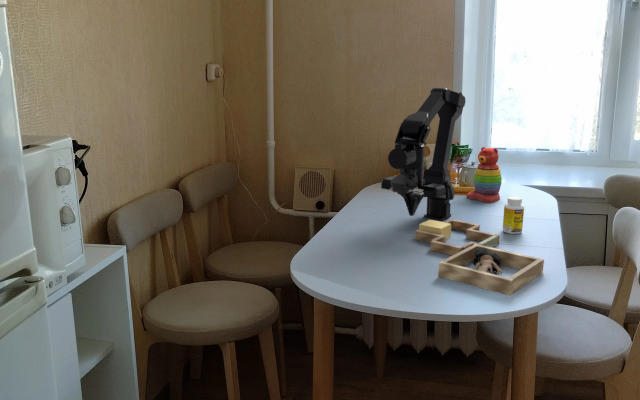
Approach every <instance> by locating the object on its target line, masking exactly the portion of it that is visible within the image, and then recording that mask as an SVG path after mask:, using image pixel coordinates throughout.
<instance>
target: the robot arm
mask: <svg viewBox="0 0 640 400" xmlns="http://www.w3.org/2000/svg"><path fill="white" fill-rule="evenodd" d="M465 105H466V97H465V95H463V93H462V92H461V91H453V90H450V89H449V88H447V87H433V88H431V90H430V93H429V95H428V96H427V97H426V99H425V100H424V102H423V103H422V105H420V107H419V108H418V110H417V111H416V112H414V113H412V114H409V115H407V116H406V117H405V118H404V119H403V120H402V122H401V124H400V125H399V129H398V131H397V134H396V136H395V137H396V138H395V140H394V148H393V149H392V150H390V151H389V153H388V156H387V160H388V161H387V162H388V163H389V165H390V166H391V168H393V169H395V170H399V174H397V175H396V176H392V175H391V176H388V177H385V178H383V179H382V180H381V182H380V188H381V189H382V190H387V191H388V190H392V192H393V193H397V194H398V195H399V196H401V197H402V198H403V201H404V204H405V206H406V209H407V211H408V215H409V216H411V217H413V216H415V213H416V212H417V209H418V207H419V205H420V204H421V201H422V200H423V199H424V198H426V214H423V217H425V218H429V219H433V220H437V221H439V220H440V221H441V220H442V221H443V220H445V219H447V218H450V217H452V214H451V203H450V201H453V200H454V198H455V193H456V192H455V191H456V190H455V189H454V187H453V184H452V180H451V179H452V176H451V173H450V171H449V169H448V165H449V160H450V152H451V149H452V141H453V136H454V130H455V124H456V121H457V120H458V118H460V117H461V115H462V114H463V110H464V107H465ZM437 115H438V118H439V121H438V127H437V131H436V137H435V142H434V143H435V145H434V151H433V156H432V161H431V165H430V166H429V167H428V168H427V166H426V165H424V164H425V146H427V142H426V141H427V138H428V137H429V135H430V132H431V125H430V124H431V122H432V121H433V120H434V118H435V117H436V116H437Z"/></svg>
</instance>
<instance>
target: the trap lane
mask: <svg viewBox="0 0 640 400" xmlns="http://www.w3.org/2000/svg"><path fill="white" fill-rule="evenodd" d="M444 222H445V223H450V224H451V230H452V229H454V230H457V231H463V232H465V233H466V234H465V239H469V240H474V241H469V242H466V243H465V244H463V245H459V246H458V245H455V244H450V243H446V242H447V241H446V240H447V239H446V236H443V235H439V234H434V233H430V232H425V231H421V230H419V229H416V230H415V232H414V239H415V240H418V241H421V242H426V243H429V244H430V252H431V251H432V252H435V253H440V254H444V255H448V256H453V255H455V254H457V253H459V252H461V251H462V250H464V249H466V248H468V247H470V246H472V245H474V244H478V245H482V246H487V247H491V248H495V247H496V246H497V245H500V234H495V233H490V232H488V231H487V232H486V231H481V230H480V228H481V227H480V226H481V225H480V224H478V223H473V222H468V221H465V220H464V221H463V220H458V219H448V220H445V221H444ZM475 241H477V242H475Z"/></svg>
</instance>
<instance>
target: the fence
mask: <svg viewBox="0 0 640 400" xmlns="http://www.w3.org/2000/svg"><path fill="white" fill-rule="evenodd" d="M479 247H481V248H485V250H488V251H489V252H490V253H494V254H495V253H497V254H498V255H499V256H500V258H501V266H504V267H510V268H513V269H517V270H518V269H519V271H517V272H515V273H514V274H513V275H511V276H509V277H505V276H502V275H499V274H494V273H487V272H483V271H479V270H475V269H473V268H470V267H466V266H467V264H470V263H471V262H472V263H473V261H472V260H473V259H475V258H476V256H475V255H474V254H475V251H476V249H478V248H479ZM544 264H545V259H543V258H540V257H535V256H531V255H526V254H522V253H519V252H518V253H517V252H513V251H508V250H505V249H504V250H503V249H500V248H495V247H492V248H491V247H487V246H482V245H478V244H474V245H472V246H470V247H468V248H466V249H464V250H462V251H461V252H459V253H457V254H455V255H453V256H452V255H450V256H449V257H448V258H447V257H446V258H445V259H443V260H442V261H439V262H438V274H437V275H438V276H437V277H440V278H443V279H447V280H451V281H454V282H458V283H462V284H466V285H468V286H473V287H478V288H481V289H485V290H489V291H491V292H496V293H500V294H504V295H508V296H512V295H513V294H514V293H516V292H518V291H519V290H520V289H521V288H523V287H524V286H526V285H527V284H529V283H531V282H532V281H533V280H535V279H536V278H538V277H539V276H541V275H542V274H543V273H544Z"/></svg>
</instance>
